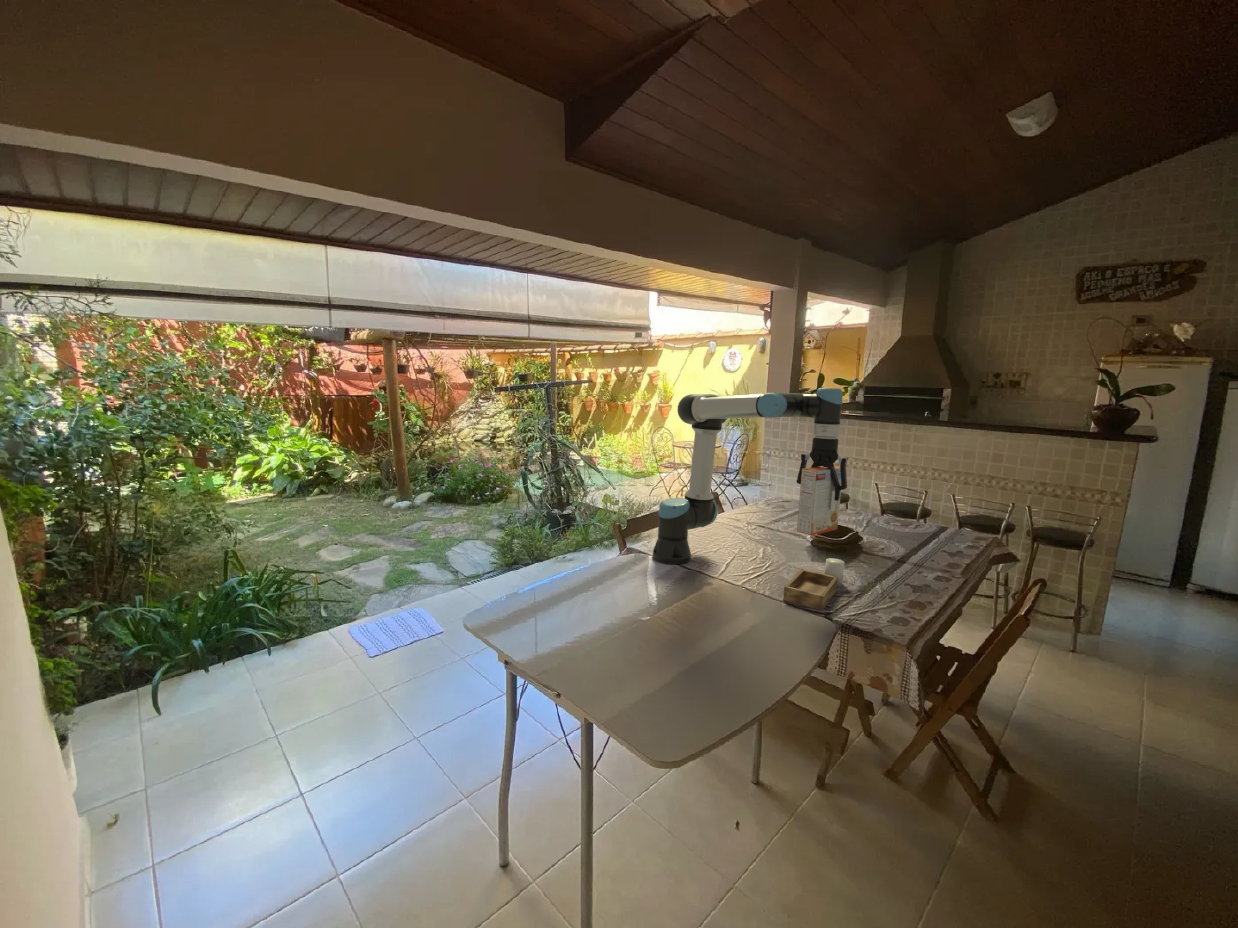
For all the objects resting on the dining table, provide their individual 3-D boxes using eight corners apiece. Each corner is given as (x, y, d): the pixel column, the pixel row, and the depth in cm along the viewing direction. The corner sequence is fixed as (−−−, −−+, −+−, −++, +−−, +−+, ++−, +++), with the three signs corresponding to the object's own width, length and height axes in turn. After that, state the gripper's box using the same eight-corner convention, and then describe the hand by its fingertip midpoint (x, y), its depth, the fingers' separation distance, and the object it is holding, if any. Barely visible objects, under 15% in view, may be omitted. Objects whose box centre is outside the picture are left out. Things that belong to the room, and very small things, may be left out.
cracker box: (821, 525, 164) (828, 464, 160) (837, 530, 159) (845, 467, 155) (795, 531, 156) (801, 467, 153) (811, 536, 151) (818, 470, 148)
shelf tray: (783, 599, 156) (784, 586, 156) (800, 581, 172) (801, 569, 172) (822, 610, 149) (823, 596, 149) (836, 589, 165) (838, 577, 165)
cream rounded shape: (822, 583, 171) (824, 561, 170) (826, 578, 176) (828, 557, 175) (840, 587, 168) (842, 565, 166) (843, 582, 172) (846, 560, 171)
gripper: (789, 435, 156) (783, 504, 159) (858, 441, 144) (851, 515, 147) (796, 434, 162) (790, 501, 165) (863, 439, 150) (855, 511, 153)
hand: (819, 507), depth 156 cm, fingers closed on cracker box, 7 cm apart
